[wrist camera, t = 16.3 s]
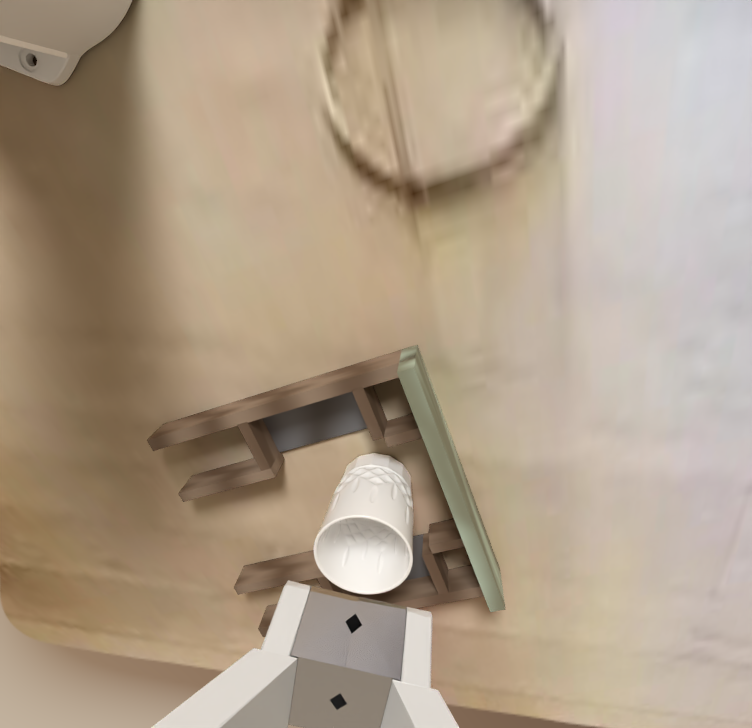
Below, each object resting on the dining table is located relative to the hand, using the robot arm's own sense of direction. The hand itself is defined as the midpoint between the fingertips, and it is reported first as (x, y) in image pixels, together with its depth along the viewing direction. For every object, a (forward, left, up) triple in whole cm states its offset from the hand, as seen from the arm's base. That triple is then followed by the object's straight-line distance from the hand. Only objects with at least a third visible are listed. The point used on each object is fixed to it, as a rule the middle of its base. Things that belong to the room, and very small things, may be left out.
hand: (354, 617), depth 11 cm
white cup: (0, -21, -34) cm, 40 cm away
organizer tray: (-4, -24, -34) cm, 42 cm away
